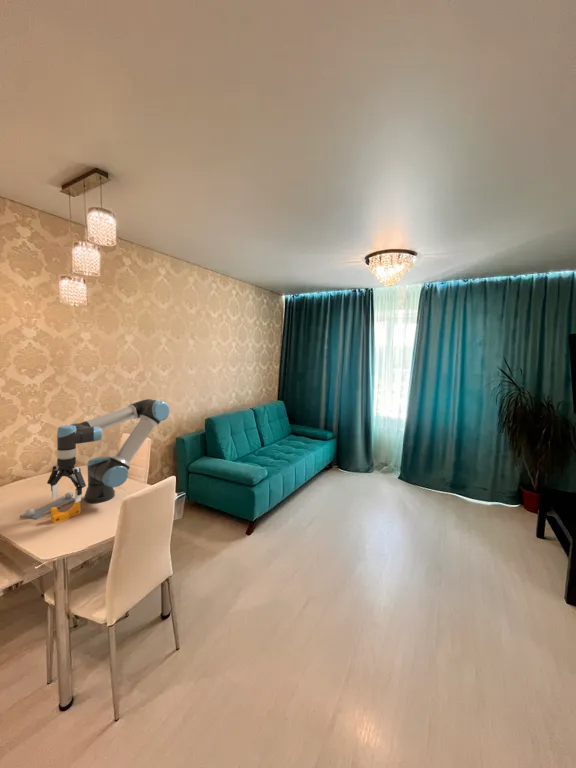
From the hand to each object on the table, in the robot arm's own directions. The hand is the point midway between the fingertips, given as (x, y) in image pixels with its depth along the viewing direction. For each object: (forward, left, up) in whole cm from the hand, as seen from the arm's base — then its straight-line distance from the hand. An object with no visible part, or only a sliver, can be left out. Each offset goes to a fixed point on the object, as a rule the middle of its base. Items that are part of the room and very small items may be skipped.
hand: (66, 499), depth 158 cm
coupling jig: (+18, -8, -10) cm, 22 cm away
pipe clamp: (+1, -1, -10) cm, 10 cm away
